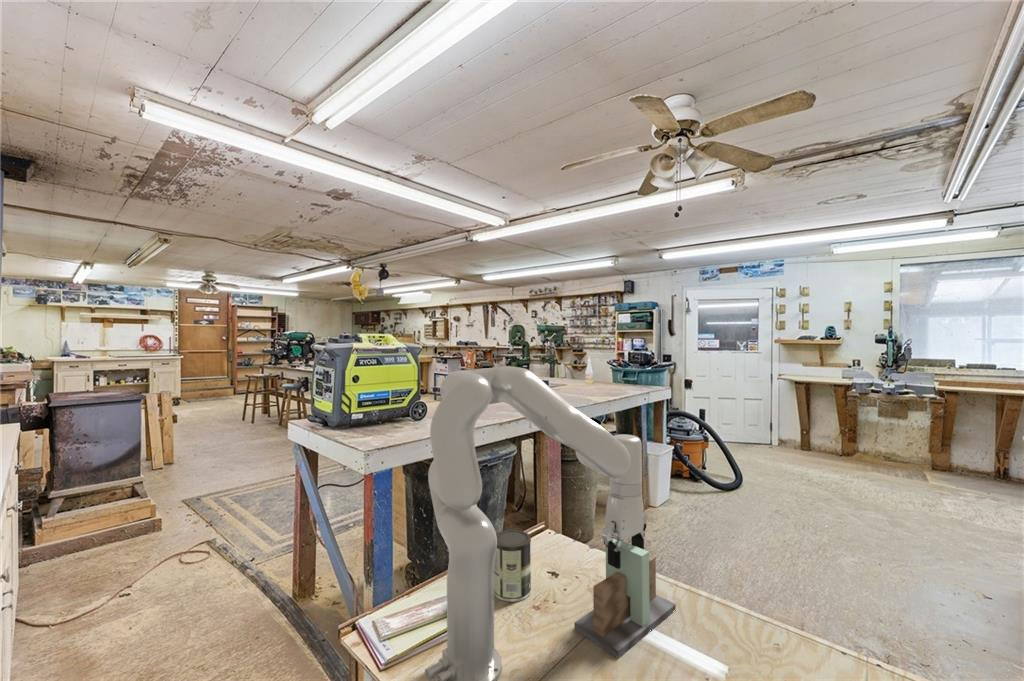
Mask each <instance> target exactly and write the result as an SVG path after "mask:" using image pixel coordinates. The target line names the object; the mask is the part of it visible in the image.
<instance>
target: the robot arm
mask: <svg viewBox="0 0 1024 681" xmlns="http://www.w3.org/2000/svg"><path fill="white" fill-rule="evenodd" d="M439 392H440V398H441V400H440V402H439V403H438V405H437V406H436V409H435V411H434V413H433V414H432V415H433V416H432V418H431V423H430V429H429V430H430V431H429V434H430V436H429V437H430V445H431V452H432V458H433V460H432V461H431V464H430V466H429V468H428V474H427V476H428V478H427V479H428V487H429V491H430V492H429V493H430V497H431V502H432V507H433V511H434V516H435V520H436V524H437V528H438V530H439V533H440V535H441V536H442V538H443V540H444V543H445V544H446V546H447V550H448V565H447V566H448V567H447V572H446V573H447V574H446V648H444V649H443V650H442V651H441V652H442V655H441V657H440V658H438V660H437V661H438V662H436V663H433V664H432V665H430V666H428V667H426V668H425V669H424V674H425V675H424V676H425V678H426V680H427V681H431V680H432V679H434V678H435V677H437V681H498V679H499V678H500V675H501V673H502V669H503V666H502V665H503V664H502V661H503V660H502V656H501V655H500V652H498V650H497V649H496V647H495V595H494V564H495V557H496V551H497V536H496V533H497V532H496V530H495V527H494V525H493V523H492V521H491V520H490V519H489V518H488V516H487V515H486V514H485V513H484V512H483V511H482V510H481V509H480V508H479V507H478V504H477V503H478V502H479V501H480V499H481V496H482V494H483V479H482V476H481V471H480V467H479V461H478V456H477V451H476V445H475V439H474V432H475V431H474V430H475V426H476V423H477V421H478V420H479V418H480V417H481V415H482V414H483V413H484V412H485V411H486V410H487V408H488V407H489V405H495V404H500V403H501V404H502V403H504V404H508V405H509V406H510V407H511V408H513V409H514V410H515V411H517V412H518V413H519V414H521V416H523V417H524V418H525V419H527V420H528V421H530V423H532V424H533V425H534V426H535V427H537V428H538V429H539V430H540V431H542V433H544V434H545V435H546V436H548V437H549V438H551V439H553V440H555V441H556V442H558V443H560V444H562V445H565V446H566V447H569V448H570V449H572V450H574V451H575V455H576V458H577V460H578V461H579V462H580V463H581V464H582V465H584V466H585V467H586V468H589V469H591V470H593V471H596V472H597V473H600V474H602V475H604V476H606V477H608V478H609V494H608V496H607V499H606V509H605V524H604V526H605V527H604V529H605V530H603V532H602V534H601V537H602V540H603V544H604V546H605V549H606V548H608V564H609V565H611V566H613V567H615V568H617V569H619V568H621V552H620V551H619V548H620V545H621V543H622V541H624V542H625V541H627V540H628V539H630V540H631V541H630V542H631V543H630V544H631V545H634V546H636V547H638V548H641V549H643V550H645V539H644V538H645V537H646V532H645V531H646V528H647V522H648V518H649V515H647V514H646V513H645V508H644V500H643V453H642V452H643V449H642V447H643V446H642V440H641V438H640V437H638V436H636V435H633V434H624V433H623V434H622V433H620V434H615V435H613V434H612V433H610V432H609V431H608V430H607V429H605V428H604V426H601V425H600V424H599V423H597V422H596V421H594V420H593V419H591V418H590V417H588V416H587V415H585V414H584V413H583V412H581V411H580V410H579V409H577V408H575V407H574V406H572V405H571V404H570V403H569V402H568V401H566V399H564V398H563V397H562V396H561V395H559V394H558V393H557V392H556V391H554V389H552V388H551V387H550V386H549V385H548V384H546V383H545V381H543V380H542V379H541V378H540V377H538V376H537V375H536V374H535V373H534V372H532V371H531V370H529V369H528V368H524V367H518V366H510V365H509V366H506V365H505V366H497V367H489V368H476V369H462V370H455V371H453V372H450V373H448V374H447V375H446V376H445V377H444V378H443V380H442V381H441V383H440V387H439ZM613 539H616V540H617V542H616V544H614V543H613ZM439 673H440V674H439Z"/></svg>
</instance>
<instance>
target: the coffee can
mask: <svg viewBox="0 0 1024 681" xmlns="http://www.w3.org/2000/svg"><path fill="white" fill-rule="evenodd" d="M496 536H497V551H496V557H495V564H494V597H496V599H499V600H500V601H503V602H509V603H514V602H515V603H516V602H520V601H523V600H526V599H527V598H528V597H529V596H530V595H531V594H532V582H531V581H532V580H531V578H532V574H531V573H532V572H531V570H532V568H531V567H532V566H531V565H532V564H531V554H532V553H531V541H532V537H531V535H530V534H528V532H526V531H524V530H519V529H506V530H501V531H499V532H496Z"/></svg>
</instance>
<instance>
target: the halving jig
mask: <svg viewBox="0 0 1024 681" xmlns="http://www.w3.org/2000/svg"><path fill="white" fill-rule="evenodd" d="M656 560H657V559H656V557H655V556H654V555H650V554H649V603H650V621H649V622H648V623H647V624H646V625H644V626H643V627H642V626H640V625H638V624H637V623H635V622H633V621H631V613H630V597H629V596H627V595H626V576H624V575H622V574H620V573H618V572H616V573H614V574H613V575H611V576H609V577H608V578H606V577H605V579H603V580H601V581H599V582H598V583H596V584H595V585H593V592H592V594H593V597H592V598H593V600H592V601H593V609H592V610H590V611H589V612H588V613H586V614H585V615H583V616H582V617H580V618H579V619H577V620H576V621H574V631H575V630H576V632H578V633H580V634H581V635H583V636H584V637H586V638H587V639H589V640H590V641H592V642H594V643H595V644H597V645H598V646H599V647H601V648H602V649H604V650H605V651H607V652H608V653H610V654H611V655H613V656H614V657H616V658H617V659H620V657H622V656H623V655H624V654H625V653H626V652H628V651H630V649H631V648H634V646H635V645H636V644H637V643H639V642H640V641H641V640H642V639H643V638H645V637H646V636H647V635H648V634H649V633H650V632H651V631H650V630H652V629H653V630H654V629H655V628H657V626H659V625H660V624H662V622H664V619H665V620H666V619H667V618H668V617H670V616H671V615H672V614H673V613H674V612H675V611H676V610H675V609H676V607H677V605H676V603H674V602H672V601H670V600H668V599H666V598H664V597H662V596H659V595H658V594H657V587H656V585H657V579H656V577H657V575H656V571H657V570H656V568H657V567H656ZM674 610H675V611H674ZM673 611H674V612H673ZM672 612H673V613H672ZM671 613H672V614H671ZM670 614H671V615H670ZM653 630H652V631H653ZM649 631H650V632H649ZM648 632H649V633H648Z"/></svg>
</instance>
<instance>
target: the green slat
mask: <svg viewBox="0 0 1024 681" xmlns="http://www.w3.org/2000/svg"><path fill="white" fill-rule="evenodd" d="M616 542H617V540H616V539H613V543H614V544H616ZM619 551H620V552H621V568H619V569H617V568H615V567H613V566H611V565H609V564H608V548H606V547H605V579H606V578H608V577H609V576H611V575H613V574H614V573H616V572H618V573H620V574H622V575H624V576H626V595H627V596H629V597H630V613H631V621H633V622H635V623H637V624H638V625H640V626H642V627H643V626H644V625H646V624H647V623H648V622H649V621H650V603H649V555H650V551H648V550H645V549H644V550H643V549H641V548H638V547H636V546H634V545H631V543H628V542H626V541H625V540H624V541H622V543H621V545H620V548H619Z"/></svg>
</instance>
